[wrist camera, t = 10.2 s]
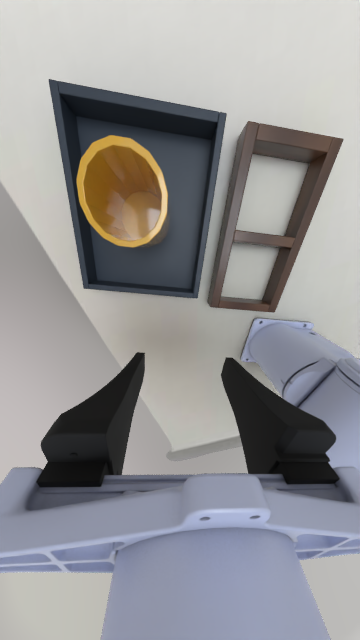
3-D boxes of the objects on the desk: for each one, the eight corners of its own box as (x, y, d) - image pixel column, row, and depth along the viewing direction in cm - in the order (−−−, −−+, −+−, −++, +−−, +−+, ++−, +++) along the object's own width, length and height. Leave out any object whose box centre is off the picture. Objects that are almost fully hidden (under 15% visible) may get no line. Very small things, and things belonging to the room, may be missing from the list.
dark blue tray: (217, 135, 14) (227, 112, 12) (194, 292, 21) (197, 298, 18) (71, 109, 13) (48, 78, 11) (94, 283, 20) (83, 288, 17)
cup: (171, 192, 16) (170, 144, 8) (168, 249, 18) (164, 251, 11) (118, 184, 15) (68, 127, 8) (121, 244, 17) (84, 242, 10)
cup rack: (323, 151, 15) (344, 138, 13) (266, 307, 22) (274, 312, 20) (238, 136, 14) (248, 120, 13) (207, 302, 21) (210, 307, 20)
